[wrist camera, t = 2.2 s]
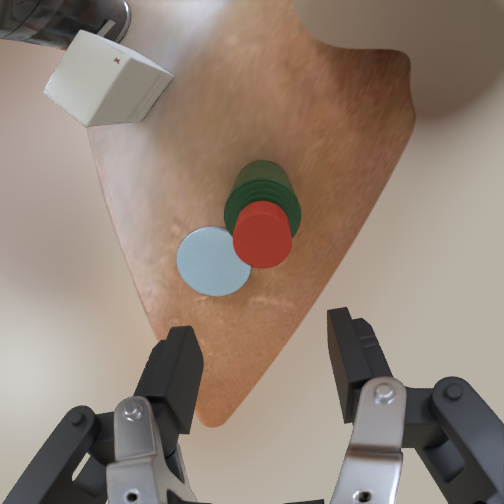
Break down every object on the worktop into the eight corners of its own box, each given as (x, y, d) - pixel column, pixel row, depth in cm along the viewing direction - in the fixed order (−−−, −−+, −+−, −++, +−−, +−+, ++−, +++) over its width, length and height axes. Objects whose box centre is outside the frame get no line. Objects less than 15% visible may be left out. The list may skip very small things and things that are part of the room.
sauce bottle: (231, 165, 34) (205, 201, 19) (285, 156, 34) (304, 185, 18) (241, 215, 37) (225, 286, 22) (292, 207, 36) (313, 274, 21)
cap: (232, 205, 22) (227, 218, 19) (284, 197, 21) (288, 209, 18) (241, 252, 23) (238, 272, 20) (291, 245, 23) (295, 264, 20)
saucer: (169, 233, 38) (167, 235, 38) (244, 220, 37) (243, 223, 37) (188, 296, 42) (187, 299, 42) (256, 288, 41) (256, 291, 41)
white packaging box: (134, 49, 28) (80, 25, 17) (176, 76, 30) (133, 57, 18) (101, 95, 31) (40, 92, 19) (140, 124, 32) (86, 129, 21)
